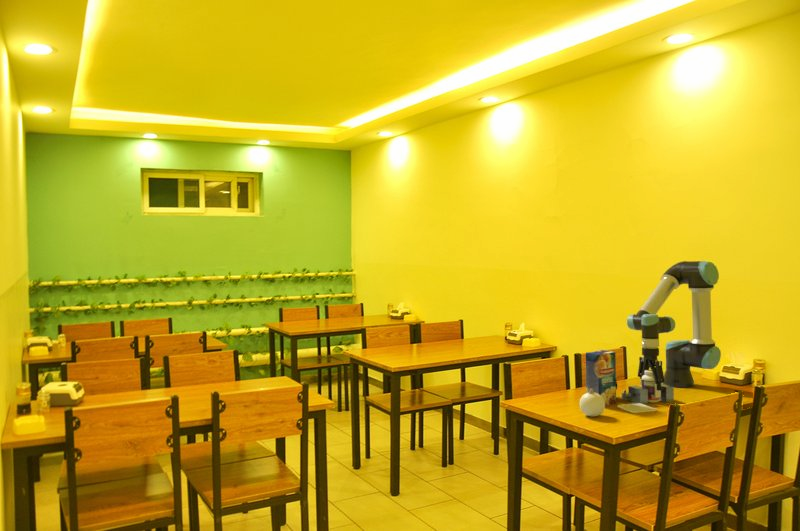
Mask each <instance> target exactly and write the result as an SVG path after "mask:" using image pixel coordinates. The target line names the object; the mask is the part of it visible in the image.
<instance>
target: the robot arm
mask: <svg viewBox="0 0 800 531" xmlns="http://www.w3.org/2000/svg"><path fill="white" fill-rule="evenodd" d="M719 273H720V272H719V270H718V267H717V265H715V264H714V263H713V262H711V261H706V260H705V261H704V260H701V261H699V260H698V261H697V260H696V261H695V260H693V261H690V260H689V261H687V260H684V261H679V262H677V263H674V264H673V265H671V267H669V268H668V269H666V271H665V272H664V273H663V274H662V275H661V276H660V282H659V283H658V284H657V286H656V287H655V288H654V289H653V291H652V292H651V294H650V295H649V297H648V298H647V299H646V300H645V302H644V303H643V305H642V306H641V307H640V308H639V310H638V311H637V313H636V314H635V313H633V314H630V315H628V317H627V318H626V319H627V320H626V325H627V327H628V328H629V329H630V330H635V331H641V355H642V356H639V358H638V361H639V363H638V364H639V365H638V372H637V377H638V378H639V379H640V384H641V385H640V387H642V376H643V375H645V373H644V371H645V370H652V372H653V375H654V378H655V381H656V382H655V397H656V398H657V397H661V383H662V384H666V385H669V386H672V387H675V388H692V387H694V386H695V381H694V378H693V375H692V372H691V368H698V369H703V370H713V369H715V368H716V367H717V366H718V365H719V363H720V361H721V357H722V352H721V350H720V348H719V347H718V346H716V341H714V339H713V336H712V300H711V299H712V298H711V293H712V290H713V289H715V285H717V283H718V282H719V278H720V275H719ZM684 284H685V285H687V286H688V290H690V291H691V307H692V308H691V311H692V312H691V314H692V315H691V316H692V317H691V318H692V339H689V340H688V339H682V340H671V341H668V342H666V344H665V372H664V370H663V369H664V368H663V361H662V360H658V357H659V356H660V349H659V347H660V339H659V338H660V337H659V336H660V335H659V334H665V333H666V334H668V333H670V332H672V331H674V330H675V328H676V321H675V320H674V318H673V317H672V316H666V315H665V316H659V315H658V314H657V313H658V312H659V310H660V309H661V307H662V306H663V305H664V304H665V302H666V301H667V300H668V298H669V297H670V296H671V294H672V293H673V292H674V290H677V289H678V288H679V287H680V286H681V285H684Z"/></svg>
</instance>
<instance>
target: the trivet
mask: <svg viewBox="0 0 800 531" xmlns="http://www.w3.org/2000/svg"><path fill="white" fill-rule="evenodd" d="M616 407H617V408H618V409H621V410H624V411H625V412H628V413H629V412H630V413H631V414H640V413H649V412H657V410H658V408H655V407H652V406H649V405H648V404H646V405H644V404H641V403H626V404H617V405H616Z"/></svg>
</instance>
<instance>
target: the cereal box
mask: <svg viewBox="0 0 800 531" xmlns="http://www.w3.org/2000/svg"><path fill="white" fill-rule="evenodd" d="M616 356H617V354H616V352H615V351H612V350H605V349H604V350H603V349H601V350H596V351H588V352H585V387H586V388H585V390H586V392H585V394H586V393H589V391H590V389H593V391H594V393H597V394H599V395H601V396H602V398H603V399H604V402H605V407H606V406H610V405H615V404H617V390H616V382H617V374H616V373H617V369H616V365H617V363H616V361H617V360H616Z"/></svg>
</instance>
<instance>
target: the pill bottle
mask: <svg viewBox="0 0 800 531" xmlns="http://www.w3.org/2000/svg"><path fill="white" fill-rule="evenodd" d="M644 373H645V375H643V376H642V388H646V389H648V403H651V404H653V403H654V404H655V403H659V402H661V400H660V397H657V398H656V397H655V382H656V381H655V378H654V375H653V372H652V370H651V369H649V370H645V371H644Z"/></svg>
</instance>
